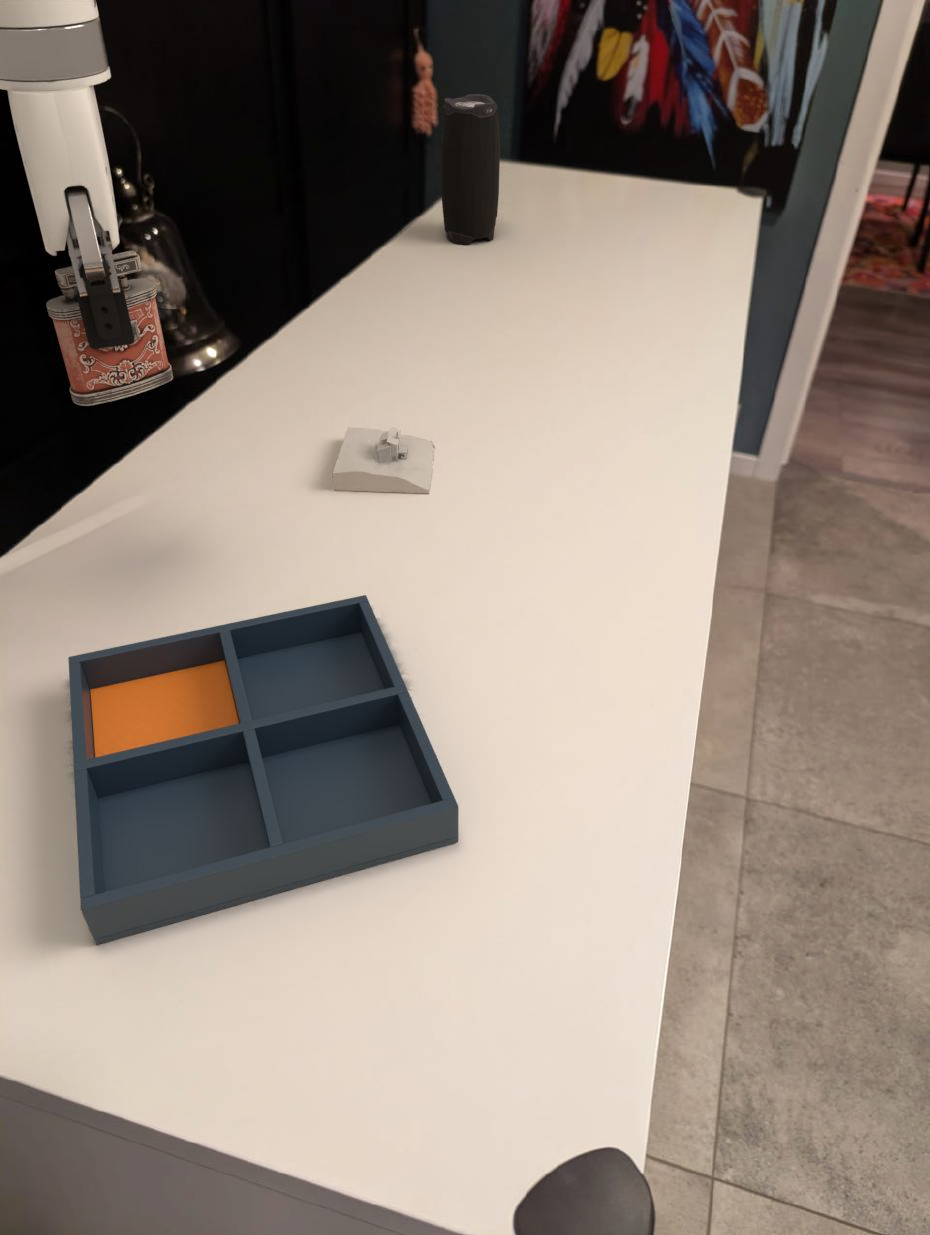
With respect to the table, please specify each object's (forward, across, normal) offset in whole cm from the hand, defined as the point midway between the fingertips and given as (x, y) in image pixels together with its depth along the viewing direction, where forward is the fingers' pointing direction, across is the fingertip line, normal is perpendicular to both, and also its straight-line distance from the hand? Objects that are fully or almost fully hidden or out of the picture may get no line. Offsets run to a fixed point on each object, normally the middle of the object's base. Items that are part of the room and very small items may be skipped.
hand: (109, 329), depth 72 cm
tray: (+21, +27, +3) cm, 34 cm away
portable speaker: (+21, -71, +56) cm, 93 cm away
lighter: (+5, 0, 0) cm, 5 cm away
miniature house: (+21, -8, +23) cm, 32 cm away
